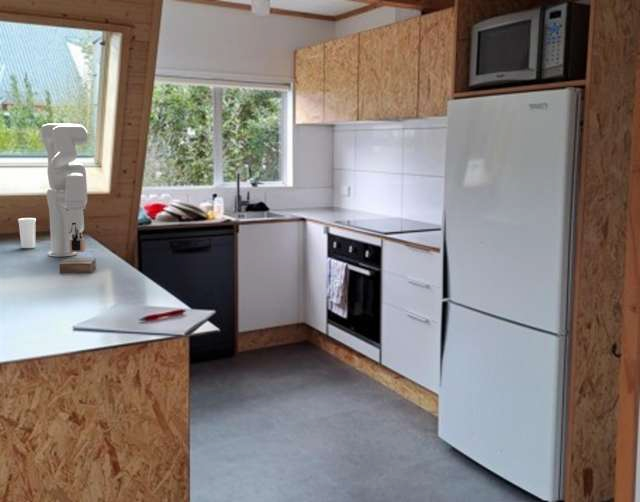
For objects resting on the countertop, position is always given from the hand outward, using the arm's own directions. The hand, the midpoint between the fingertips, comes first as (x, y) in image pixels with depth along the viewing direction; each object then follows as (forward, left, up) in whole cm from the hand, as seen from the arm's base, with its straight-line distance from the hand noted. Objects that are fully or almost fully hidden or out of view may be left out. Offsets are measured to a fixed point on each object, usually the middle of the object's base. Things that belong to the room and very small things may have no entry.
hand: (77, 248), depth 272 cm
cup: (-57, -34, -9) cm, 67 cm away
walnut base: (0, 0, -9) cm, 9 cm away
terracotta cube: (0, 0, -1) cm, 1 cm away
